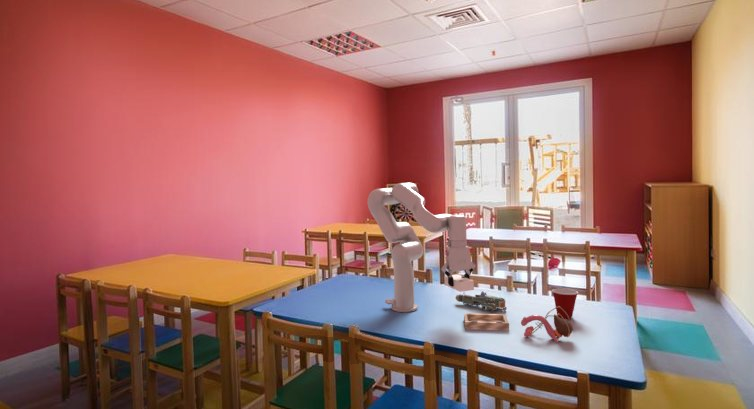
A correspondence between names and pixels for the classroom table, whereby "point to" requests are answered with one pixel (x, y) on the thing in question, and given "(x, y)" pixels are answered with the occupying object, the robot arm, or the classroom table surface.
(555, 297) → the plastic cup
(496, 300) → the hoverbike
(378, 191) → the robot arm
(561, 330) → the anatomy model
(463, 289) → the pale pink knobbed block
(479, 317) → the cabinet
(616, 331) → the classroom table surface
